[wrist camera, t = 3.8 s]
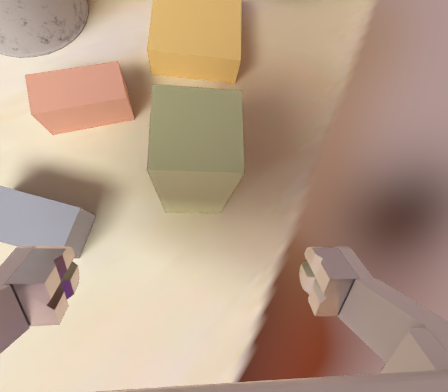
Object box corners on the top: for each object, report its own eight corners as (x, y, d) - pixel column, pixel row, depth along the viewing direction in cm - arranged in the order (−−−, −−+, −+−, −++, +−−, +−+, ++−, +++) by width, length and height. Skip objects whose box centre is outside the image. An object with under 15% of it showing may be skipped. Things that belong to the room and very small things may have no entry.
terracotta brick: (53, 136, 20) (31, 114, 17) (47, 101, 21) (24, 74, 18) (135, 120, 21) (126, 97, 18) (127, 88, 22) (117, 61, 19)
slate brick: (-10, 235, 18) (-48, 229, 15) (11, 193, 18) (-22, 180, 16) (80, 258, 18) (59, 257, 15) (96, 216, 19) (80, 207, 16)
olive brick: (165, 212, 19) (147, 169, 11) (167, 160, 20) (152, 84, 12) (220, 213, 20) (244, 173, 11) (219, 162, 21) (241, 90, 12)
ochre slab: (152, 77, 22) (147, 49, 20) (159, 11, 24) (155, -23, 21) (234, 85, 23) (240, 60, 20) (235, 22, 25) (241, -10, 22)
